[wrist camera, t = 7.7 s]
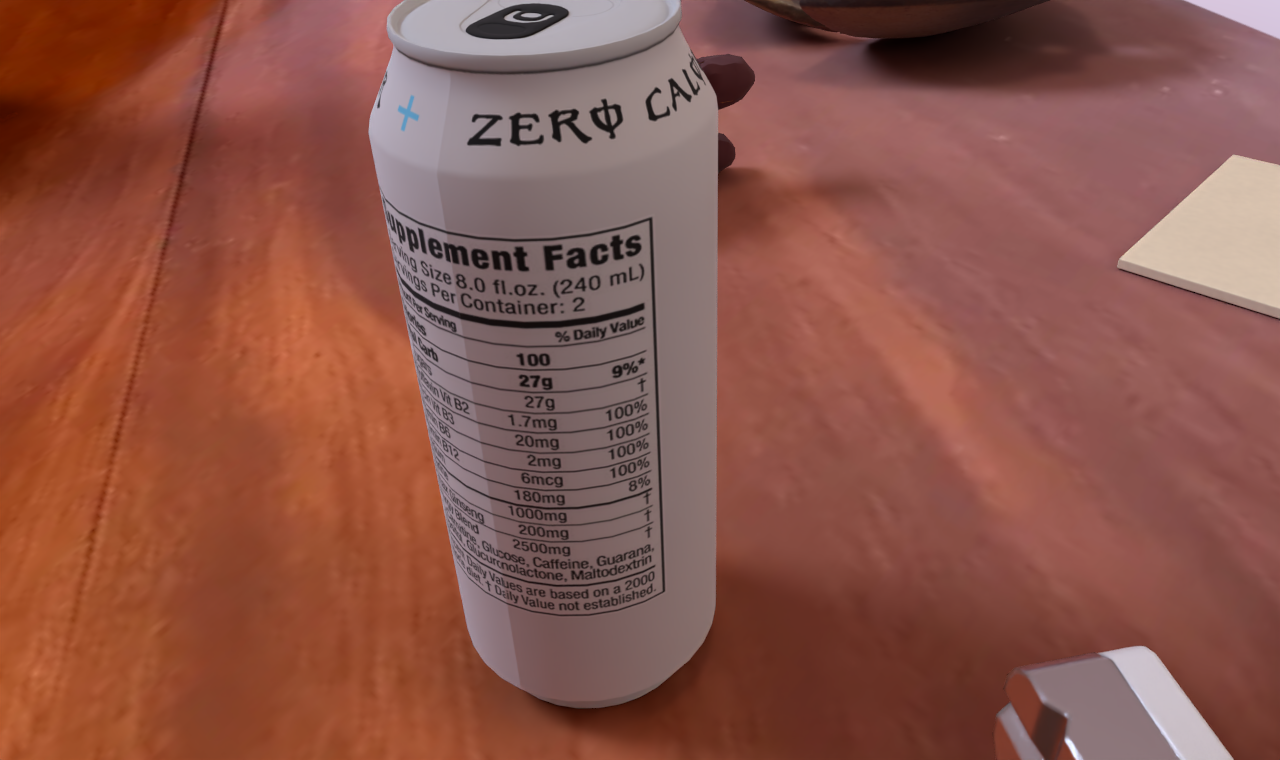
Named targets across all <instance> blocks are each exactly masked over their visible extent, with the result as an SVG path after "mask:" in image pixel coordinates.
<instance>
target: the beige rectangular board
mask: <svg viewBox="0 0 1280 760" xmlns="http://www.w3.org/2000/svg"><path fill="white" fill-rule="evenodd" d="M1117 268H1120V269H1123V270H1126V271H1129V272H1132V273H1136V274H1139V275H1142V276H1145V277H1148V278H1151V279H1155V280H1158V281H1161V282H1164V283H1167V284H1171V285H1174V286H1177V287H1180V288H1183V289H1187V290H1190V291H1193V292H1196V293H1199V294H1202V295H1206V296H1209V297H1212V298H1215V299H1218V300H1222V301H1225V302H1228V303H1231V304H1234V305H1237V306H1241V307H1244V308H1247V309H1250V310H1253V311H1257V312H1260V313H1263V314H1266V315H1269V316H1273V317H1276V318H1279V319H1280V165H1276V164H1271V163H1267V162H1263V161H1259V160H1255V159H1250V158H1246V157H1242V156H1238V155H1232V156H1231V157H1230V158H1229V159H1228V160H1227V161H1226V162H1225V163H1224V164H1223V165H1221V166H1220V167H1219V168H1218V169H1217V170H1216V171H1215V172H1214V173H1213V174H1212V175H1211V176H1209V177H1208V178H1207V179H1206V180H1205V181H1204V182H1203V183H1202V184H1201V185H1200V186H1198V187H1197V188H1196V189H1195V190H1194V191H1193V192H1192V193H1191V194H1190V195H1189V196H1188V197H1186V198H1185V199H1184V200H1183V201H1182V202H1181V203H1180V204H1179V205H1178V206H1177V207H1175V208H1174V209H1173V210H1172V211H1171V212H1170V213H1169V214H1168V215H1167V216H1166V217H1165V218H1163V219H1162V220H1161V221H1160V222H1159V223H1158V224H1157V225H1156V226H1155V227H1154V228H1152V229H1151V230H1150V231H1149V232H1148V233H1147V234H1146V235H1145V236H1144V237H1143V238H1142V239H1140V240H1139V241H1138V242H1137V243H1136V244H1135V245H1134V246H1133V247H1132V248H1131V249H1129V250H1128V251H1127V252H1126V253H1125V254H1124V255H1123V256H1122V257H1121V258H1120V259H1119V261H1118V265H1117Z"/></svg>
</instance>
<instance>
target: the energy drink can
mask: <svg viewBox="0 0 1280 760" xmlns="http://www.w3.org/2000/svg"><path fill="white" fill-rule="evenodd" d="M681 15H682V12H681V0H404V1H403V2H401V3H400V4H399V5H397V6H396V7H395V8H394V9H393V10H392V11H391V13H390V14H389V16H388V18H387V32H388V37H389V39H390V40H391V41H392V43H393V45H394V47H393V51H392V55H391V59H390V62H389V65H388V67H387V70H386V73H385V76H384V79H383V82H382V84H381V87H380V90H379V93H378V95H377V98H376V101H375V104H374V107H373V110H372V112H371V116H370V121H369V137H370V142H371V147H372V152H373V157H374V162H375V167H376V172H377V177H378V182H379V187H380V192H381V197H382V203H383V208H384V213H385V218H386V223H387V228H388V233H389V238H390V243H391V248H392V253H393V258H394V263H395V268H396V273H397V278H398V283H399V288H400V293H401V298H402V303H403V308H404V313H405V318H406V323H407V328H408V333H409V338H410V343H411V348H412V353H413V358H414V363H415V368H416V373H417V378H418V383H419V388H420V393H421V398H422V403H423V408H424V413H425V418H426V423H427V428H428V433H429V438H430V443H431V448H432V453H433V458H434V463H435V468H436V473H437V478H438V483H439V488H440V493H441V498H442V503H443V508H444V513H445V518H446V523H447V528H448V533H449V538H450V543H451V548H452V553H453V558H454V563H455V568H456V573H457V578H458V583H459V588H460V593H461V598H462V603H463V608H464V613H465V618H466V623H467V628H468V631H469V634H470V637H471V640H472V643H473V646H474V647H475V649H476V650H477V652H478V653H479V655H480V656H481V658H482V659H483V661H484V662H485V664H487V665H488V666H489V667H490V668H491V669H492V670H493V671H494V672H495V673H496V674H498V675H499V676H500V677H501V678H502V679H504V680H506V681H508V682H509V683H511V684H513V685H514V686H516V687H518V688H520V689H522V690H524V691H526V692H528V693H530V694H532V695H533V696H535V697H537V698H538V699H541V700H544V701H547V702H550V703H553V704H556V705H560V706H567V707H573V708H601V707H607V706H613V705H618V704H622V703H625V702H628V701H630V700H633V699H636V698H639V697H641V696H643V695H644V694H646V693H648V692H650V691H652V690H653V689H655V688H657V687H658V686H659V685H661V684H662V683H663V682H664V681H665V680H666V679H668V678H669V677H670V676H671V675H672V674H673V673H674V672H676V671H677V670H678V669H679V668H680V667H682V666H683V665H684V664H685V663H686V662H688V661H689V660H690V659H691V657H692V656H693V655H694V654H695V652H696V651H697V650H698V649H699V647H700V646H701V645H702V644H703V642H704V640H705V638H706V636H707V634H708V631H709V629H710V627H711V625H712V622H713V617H714V612H715V607H716V450H717V240H718V104H717V96H716V94H715V92H714V90H713V88H712V86H711V84H710V82H709V81H708V79H707V77H706V75H705V74H704V72H703V70H702V68H701V67H700V65H699V63H698V61H697V60H696V58H695V56H694V54H693V53H692V51H691V49H690V47H689V46H688V44H687V42H686V40H685V38H684V36H683V34H682V32H681V30H680V27H679V22H680V20H681Z"/></svg>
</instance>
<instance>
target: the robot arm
mask: <svg viewBox="0 0 1280 760" xmlns="http://www.w3.org/2000/svg"><path fill="white" fill-rule="evenodd" d="M1003 690H1004V691H1005V693H1006V695H1007V697H1008V699H1009V701H1010V702H1009V703H1008V704H1007V705H1006V706H1005V707H1004V708H1003V709H1002V710H1001V711H1000V712H999V713H997V714H996V719H995V724H994V729H993V734H992V735H993V742H994V750H995V758H996V760H1234V759H1233V758H1232V756H1231V755H1230V754H1229V752H1228V751H1227V750H1226V748H1225V747H1224V745H1223V744H1222V743H1221V741H1220V740H1219V739H1218V737H1217V736H1216V735H1215V733H1214V732H1213V731H1212V729H1211V728H1210V727H1209V725H1208V724H1207V723H1206V721H1205V720H1204V718H1203V717H1202V716H1201V714H1200V713H1199V712H1198V710H1197V709H1196V708H1195V706H1194V705H1193V704H1192V702H1191V701H1190V700H1189V698H1188V697H1187V696H1186V694H1185V693H1184V691H1183V690H1182V689H1181V687H1180V686H1179V685H1178V683H1177V682H1176V681H1175V679H1174V678H1173V677H1172V675H1171V674H1170V673H1169V671H1168V670H1167V669H1166V667H1165V666H1164V664H1163V663H1162V662H1161V660H1160V659H1159V658H1158V656H1157V655H1156V654H1155V653H1154V652H1153V651H1151V650H1150V649H1148V648H1147V647H1145V646H1132V647H1127V648H1122V649H1117V650H1112V651H1107V652H1101V653H1095V652H1094V653H1089V654H1083V655H1078V656H1073V657H1068V658H1063V659H1057V660H1052V661H1047V662H1042V663H1037V664H1031V665H1026V666H1021V667H1016V668H1014V669H1013V670H1012V671H1010V672H1009V673H1008V674H1007V677H1006V681H1005V684H1004V688H1003Z"/></svg>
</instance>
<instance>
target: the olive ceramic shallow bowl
mask: <svg viewBox="0 0 1280 760" xmlns="http://www.w3.org/2000/svg"><path fill="white" fill-rule="evenodd" d="M745 1H746V2H748V3H751V4H753V5H755V6H757V7H759V8H761V9H763V10H765V11H767V12H770V13H772V14H774V15H777V16H779V17H782V18H785V19H788V20H791V21H794V22H797V23H800V24H804V25H807V26H811V27H814V28H818V29H822V30H826V31H831V32H840V34H841V33H843V34H846V35H849V36H854V37H867V38H913V37H923V36H930V35H935V34H941V33H945V32H949V31H954V30H957V29H961V28H965V27H969V26H973V25H976V24H980V23H984V22H987V21H991V20H994V19H997V18H1001V17H1004V16H1007V15H1009V14H1012V13H1015V12H1018V11H1021V10H1024V9H1026V8H1029V7H1032V6H1034V5H1037V4H1040V3H1043V2H1046V1H1049V0H745Z"/></svg>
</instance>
